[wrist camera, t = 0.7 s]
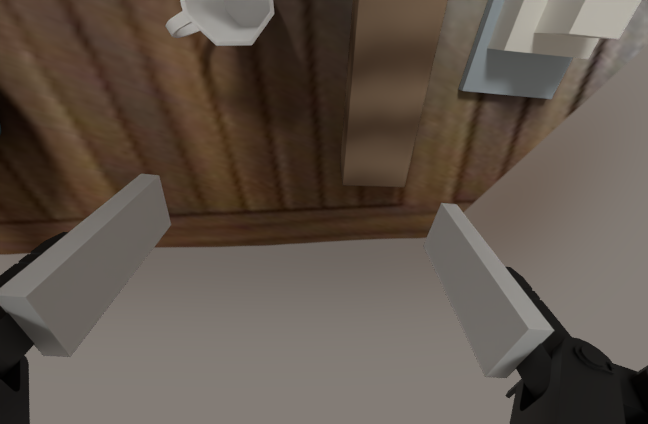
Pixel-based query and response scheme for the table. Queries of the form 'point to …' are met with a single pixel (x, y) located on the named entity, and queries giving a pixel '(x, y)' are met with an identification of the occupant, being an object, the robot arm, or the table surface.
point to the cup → (222, 20)
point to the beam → (386, 87)
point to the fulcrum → (538, 42)
